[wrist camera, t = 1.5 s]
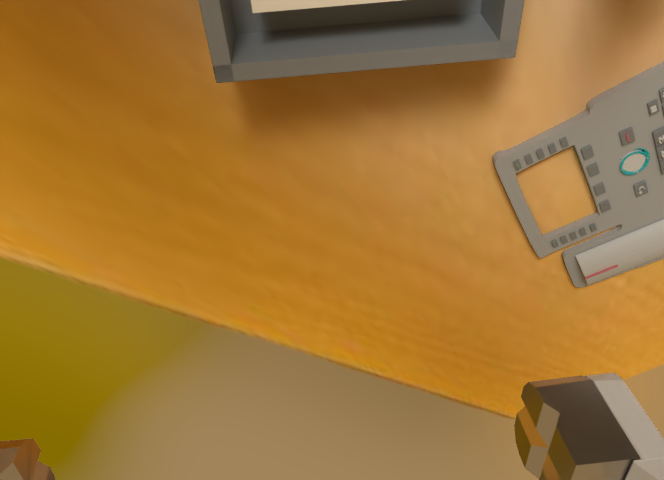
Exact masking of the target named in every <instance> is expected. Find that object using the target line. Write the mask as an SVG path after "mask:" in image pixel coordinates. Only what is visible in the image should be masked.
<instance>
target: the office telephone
mask: <svg viewBox="0 0 664 480" xmlns="http://www.w3.org/2000/svg"><path fill="white" fill-rule="evenodd" d="M571 146H574V149H575V151H576V153H577V156H578V158H579V161H580V164H581V167H582V169H583V172H584V175H585V178H586V180H587V183H588V186H589V189H590V191H591V194H592V197H593V200H594V203H595V206H596V209H597V212H595V213H593V214H591V215H589V216H586V217H584V218H582V219H580V220H577V221H575V222H573V223H570V224H568V225H566V226H563V227H561V228H558V229H556V230H554V231H551V232H549V233H546V234H544V235H542V233H541V231H540V230H539V228H538V226H537V224H536V222H535V219H534V217H533V215H532V213H531V211H530V209H529V207H528V205H527V203H526V200H525V198H524V196H523V194H522V191H521V189H520V187H519V184H518V181H517V178H516V173H518V172H520V171H522V170H524V169H526V168H527V167H529V166H531V165H533V164H535V163H537V162H539V161H541V160H543V159H545V158H547V157H549V156H551V155H554V154H556V153H558V152H560V151H562V150H564V149H566V148H568V147H571ZM643 150H644V151H643ZM492 159H493V163H494V166H495V168H496V170H497V173H498V175H499V177H500V179H501V182H502V184H503V186H504V188H505V191H506V193H507V195H508V197H509V199H510V202H511V204H512V206H513V208H514V210H515V212H516V214H517V216H518V219H519V221H520V223H521V225H522V227H523V229H524V231H525V233H526V236H527V238H528V240H529V242H530V244H531V245H532V247H533V249H534V251H535V252H536V254H537V256H538V257H540V258H543V257H546V256H547V255H548V254H551V253H553V252H555V251H557V250H560V249H562V248H564V247H567V246H569V245H571V244H574V243H576V242H578V241H581V240H583V239H586V238H588V237H591V236H593V235H595V234H598V233H600V232H603V231H605V230H608V229H610V228H612V227H615V226H617V225H618V226H617V227H616V228H614V229H612V230H610V231H608V232H605V233H603V234H601V235H598V236H596V237H594V238H591V239H589V240H587V241H584V242H582V243H580V244H577V245H575V246H573V247H570V248H568V249H566V250H564V251H563V252H562V258H563V261H564V264H565V266H566V268H567V271H568V273H569V275H570V278H571V280H572V282H573V284H574V285H575V287H585V286H588V285H591V284H594V283H597V282H600V281H603V280H606V279H608V278H611V277H614V276H616V275H619V274H622V273H624V272H627V271H629V270H632V269H635V268H639V267H642V266H645V265H647V264H650V263H653V262H655V261H658V260H661V259H663V258H664V62H662V63H660V64H658V65H656V66H654V67H652V68H650V69H648V70H646V71H644V72H642V73H640V74H638V75H636V76H634V77H632V78H630V79H629V80H627V81H625V82H623V83H621V84H619V85H617V86H615V87H613V88H611V89H609V90H607V91H605V92H603V93H601V94H600V95H598V96H596V97H595V98H593V99H592V100H590V101H589V102H588V103H587V105H586V109H585V110H584V111H583V112H581V113H580V114H578V115H576V116H574V117H572V118H570V119H569V120H567V121H565V122H563V123H561V124H559V125H557V126H555V127H553V128H551V129H549V130H547V131H545V132H543V133H541V134H539V135H537V136H535V137H533V138H531V139H529V140H527V141H525V142H523V143H521V144H519V145H517V146H514V147H512V148H510V149H508V150H504V151H498V152H496V153H495V154H494V155H493V157H492Z"/></svg>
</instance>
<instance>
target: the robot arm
mask: <svg viewBox="0 0 664 480" xmlns="http://www.w3.org/2000/svg"><path fill="white" fill-rule="evenodd" d="M521 398H522V400H523V402H524V404H525V407H524V408H523V409H521V410H520V411H519V412H518V413H517V416H516V421H515V438H516V444H517V447H518V451H519V455H520V457H521V459H522V462H523V464H524V467H525V468H526V469H527V470H528V471H530V472H531V473H532V474H533V475H535V476H536V477H537V478H539V480H664V439H663V437H662V436H661V434H660V433H659V432H658V430H657V429H656V427H655V426H654V424H653V423H652V421H651V420H650V419H649V417H648V416H647V414H646V413H645V411H644V410H643V408H642V407H641V406H640V404H639V403H638V401H637V400H636V399H635V397H634V396H633V394H632V393H631V391H630V390H629V388H628V387H627V385H626V384H625V382H624V381H623V380H622V378H621V377H620V376H618V375H617V374H616V373H605V374H597V375H589V376H574V377H566V378H558V379H550V380H542V381H534V382H528V383H527V384H526V385H525V386H524V388H523V391H522V395H521ZM40 452H41V450H40V448H39V447H38V445H37V444H36V442H35V440H34V439H22V440H10V441H0V480H55V476H54V474H53V472H52V470H51V468H50V467H49V466H47V465H45V464H43V463H41V462H39V461H38V458H39V455H40Z"/></svg>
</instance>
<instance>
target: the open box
mask: <svg viewBox="0 0 664 480" xmlns="http://www.w3.org/2000/svg"><path fill="white" fill-rule="evenodd" d="M199 3H200V8H201V13H202V17H203V22H204V27H205V32H206V36H207V41H208V46H209V50H210V55H211V60H212V64H213V69H214V74H215V78H216V83H222V82H234V81H246V80H257V79H269V78H281V77H292V76H304V75H316V74H327V73H339V72H351V71H362V70H374V69H386V68H397V67H409V66H421V65H432V64H444V63H456V62H467V61H479V60H491V59H502V58H514V57H515V55H516V49H517V42H518V36H519V30H520V24H521V17H522V11H523V5H524V0H199Z"/></svg>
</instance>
